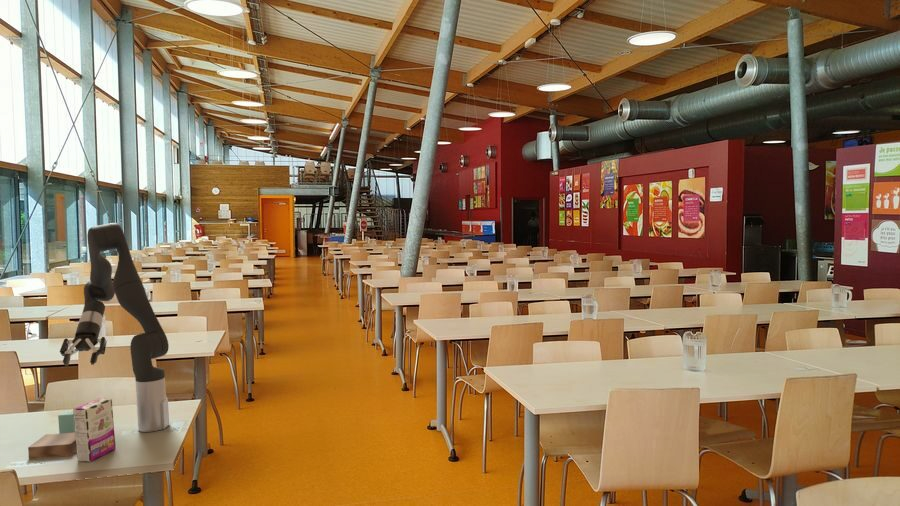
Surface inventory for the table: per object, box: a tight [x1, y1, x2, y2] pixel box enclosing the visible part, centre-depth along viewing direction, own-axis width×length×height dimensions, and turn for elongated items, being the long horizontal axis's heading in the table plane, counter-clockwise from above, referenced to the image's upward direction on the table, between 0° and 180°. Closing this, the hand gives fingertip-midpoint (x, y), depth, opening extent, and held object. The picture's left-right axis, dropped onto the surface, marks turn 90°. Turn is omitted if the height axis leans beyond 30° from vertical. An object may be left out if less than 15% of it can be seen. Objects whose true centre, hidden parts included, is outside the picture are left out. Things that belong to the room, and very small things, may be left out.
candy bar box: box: [72, 397, 117, 463], centre depth 203 cm, size 11×5×16 cm, turn 168°
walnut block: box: [27, 432, 77, 460], centre depth 209 cm, size 12×12×4 cm
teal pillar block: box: [57, 410, 75, 434], centre depth 223 cm, size 4×4×8 cm
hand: (79, 364), depth 233 cm, fingers open, 8 cm apart
